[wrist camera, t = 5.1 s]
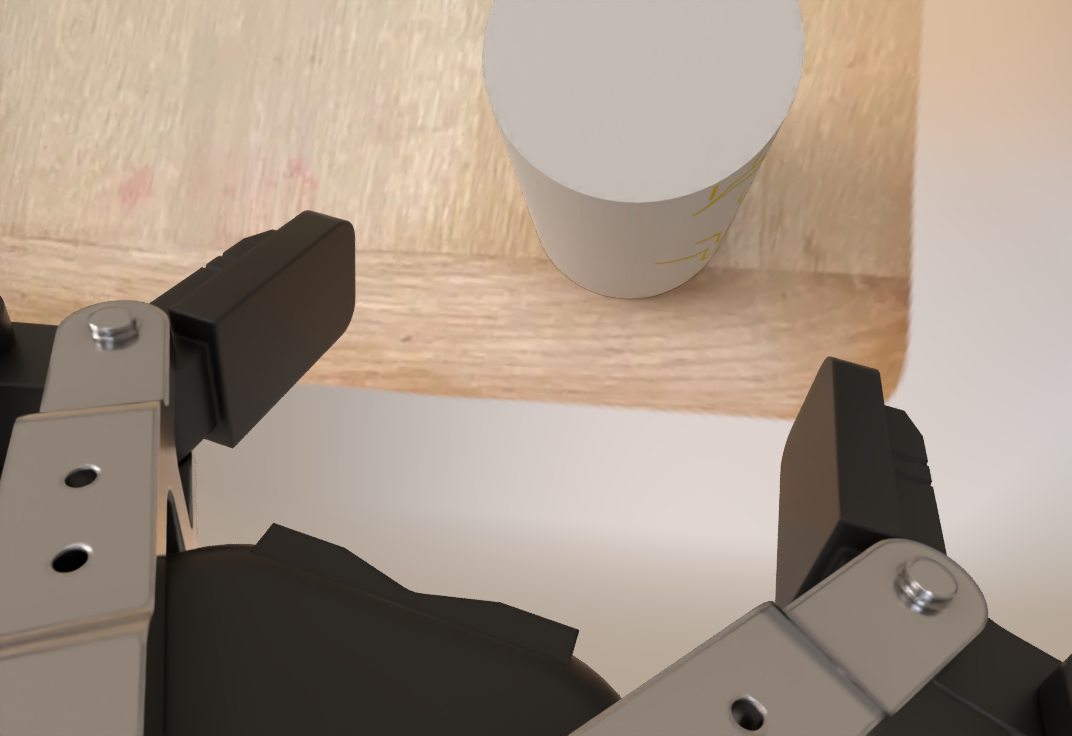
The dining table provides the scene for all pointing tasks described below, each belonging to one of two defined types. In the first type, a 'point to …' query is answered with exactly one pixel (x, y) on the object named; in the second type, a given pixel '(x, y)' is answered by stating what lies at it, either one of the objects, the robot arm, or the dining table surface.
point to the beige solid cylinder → (638, 125)
